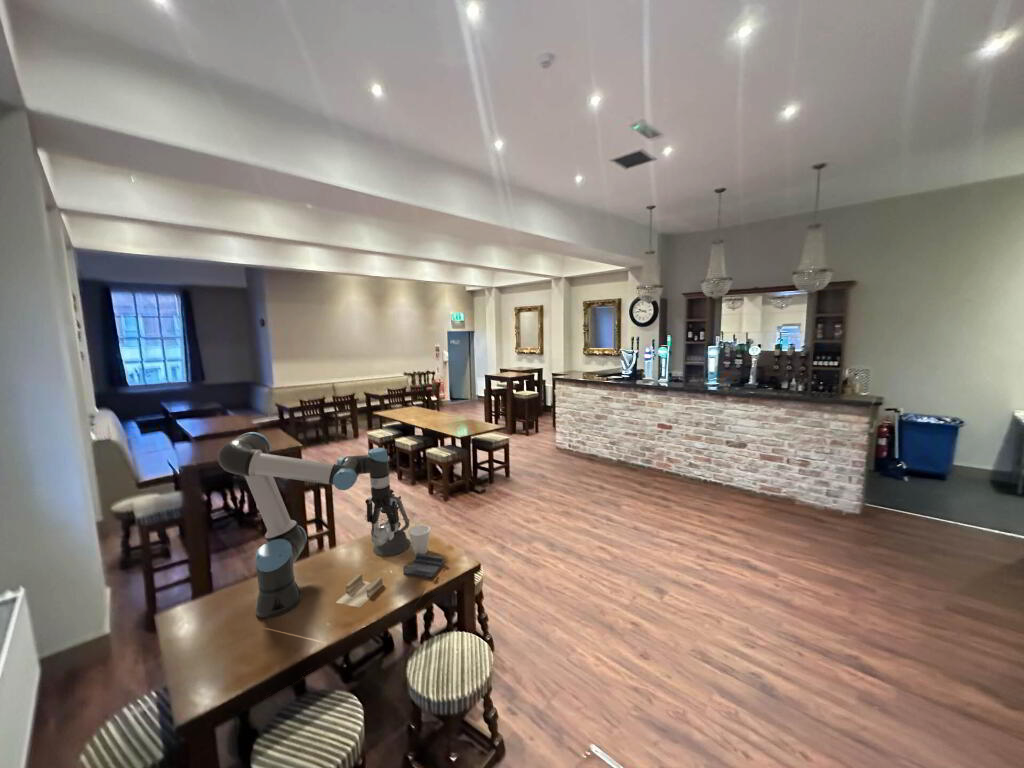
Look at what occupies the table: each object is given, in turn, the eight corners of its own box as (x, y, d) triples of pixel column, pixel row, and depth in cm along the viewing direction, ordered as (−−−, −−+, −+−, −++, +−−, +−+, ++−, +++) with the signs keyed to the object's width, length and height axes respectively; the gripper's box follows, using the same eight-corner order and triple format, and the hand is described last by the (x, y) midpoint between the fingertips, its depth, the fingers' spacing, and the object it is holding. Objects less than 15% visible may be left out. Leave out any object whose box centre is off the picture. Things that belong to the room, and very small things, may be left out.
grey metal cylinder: (372, 545, 167) (370, 531, 166) (386, 531, 178) (385, 518, 178) (385, 546, 165) (384, 532, 165) (399, 531, 177) (397, 518, 176)
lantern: (393, 531, 206) (389, 475, 202) (419, 543, 194) (416, 483, 190) (362, 547, 192) (357, 487, 188) (388, 560, 180) (383, 497, 176)
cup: (426, 559, 181) (425, 536, 179) (405, 557, 183) (404, 534, 181) (434, 547, 190) (433, 525, 189) (415, 545, 192) (413, 523, 191)
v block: (403, 575, 169) (403, 567, 169) (417, 560, 180) (417, 553, 179) (431, 580, 165) (431, 572, 165) (444, 564, 176) (443, 557, 176)
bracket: (335, 603, 152) (334, 595, 152) (359, 581, 166) (358, 573, 165) (360, 608, 149) (359, 600, 149) (382, 585, 162) (382, 577, 162)
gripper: (354, 488, 166) (359, 540, 169) (397, 490, 162) (401, 544, 165) (364, 481, 173) (368, 531, 176) (405, 483, 169) (409, 534, 172)
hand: (384, 537), depth 171 cm, fingers closed on grey metal cylinder, 6 cm apart
